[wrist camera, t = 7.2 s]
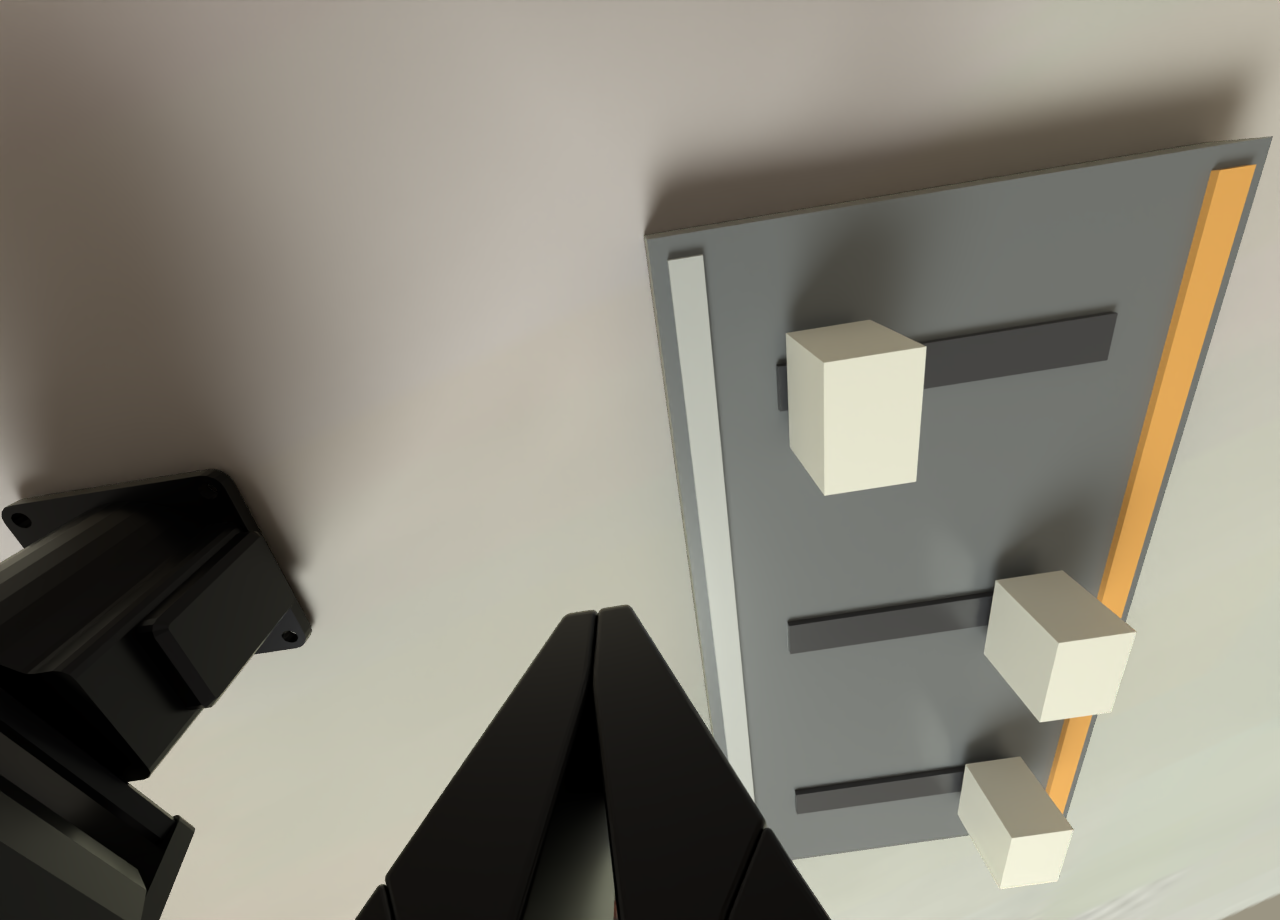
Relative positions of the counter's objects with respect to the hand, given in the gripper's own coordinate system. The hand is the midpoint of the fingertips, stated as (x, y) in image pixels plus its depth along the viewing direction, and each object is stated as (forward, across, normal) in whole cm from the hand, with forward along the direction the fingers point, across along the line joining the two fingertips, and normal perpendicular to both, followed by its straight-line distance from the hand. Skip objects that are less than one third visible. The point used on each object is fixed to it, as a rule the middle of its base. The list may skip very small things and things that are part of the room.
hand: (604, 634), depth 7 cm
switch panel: (+9, -9, +8) cm, 15 cm away
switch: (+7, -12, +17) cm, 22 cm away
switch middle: (+7, -12, +8) cm, 16 cm away
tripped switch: (+7, -6, 0) cm, 9 cm away
